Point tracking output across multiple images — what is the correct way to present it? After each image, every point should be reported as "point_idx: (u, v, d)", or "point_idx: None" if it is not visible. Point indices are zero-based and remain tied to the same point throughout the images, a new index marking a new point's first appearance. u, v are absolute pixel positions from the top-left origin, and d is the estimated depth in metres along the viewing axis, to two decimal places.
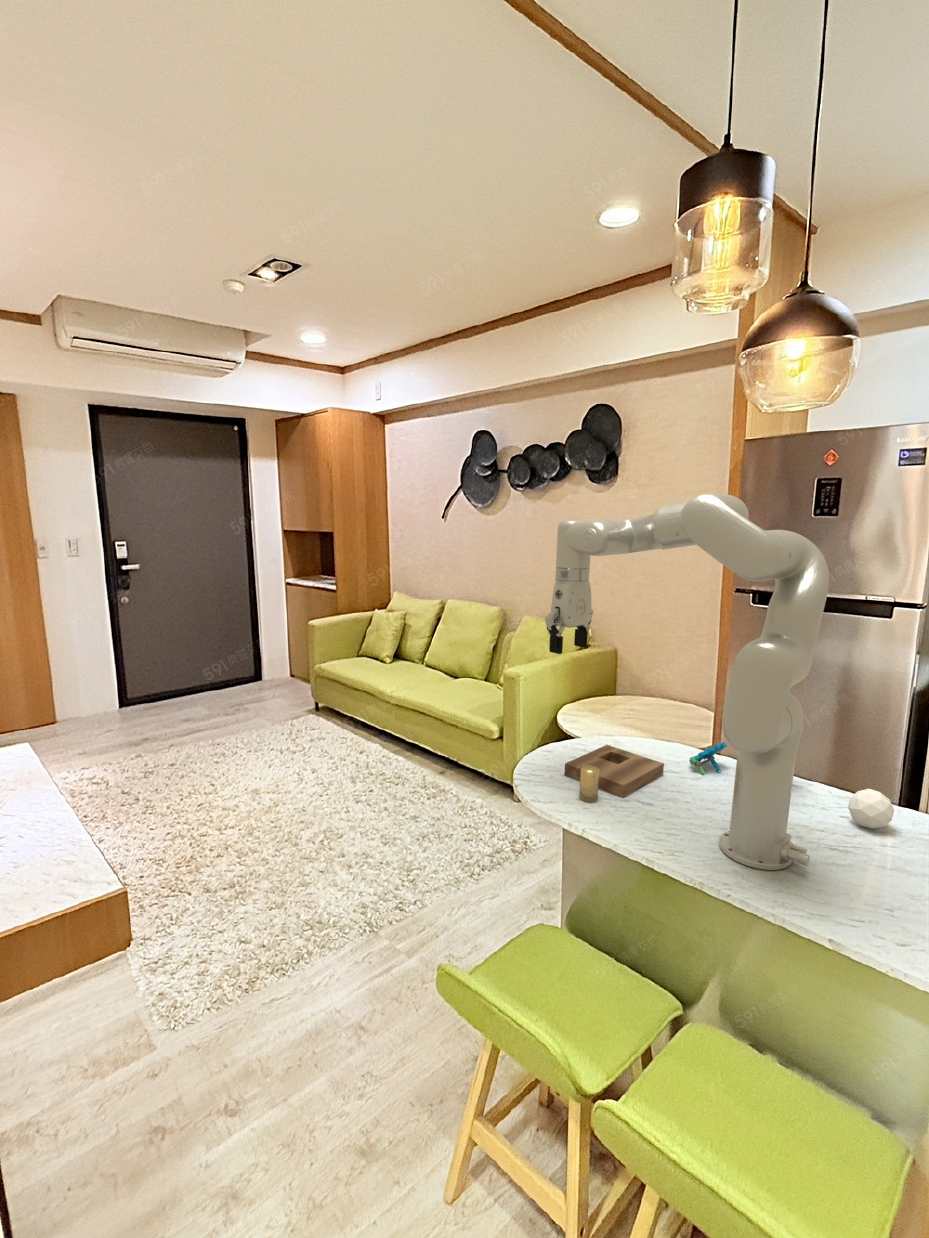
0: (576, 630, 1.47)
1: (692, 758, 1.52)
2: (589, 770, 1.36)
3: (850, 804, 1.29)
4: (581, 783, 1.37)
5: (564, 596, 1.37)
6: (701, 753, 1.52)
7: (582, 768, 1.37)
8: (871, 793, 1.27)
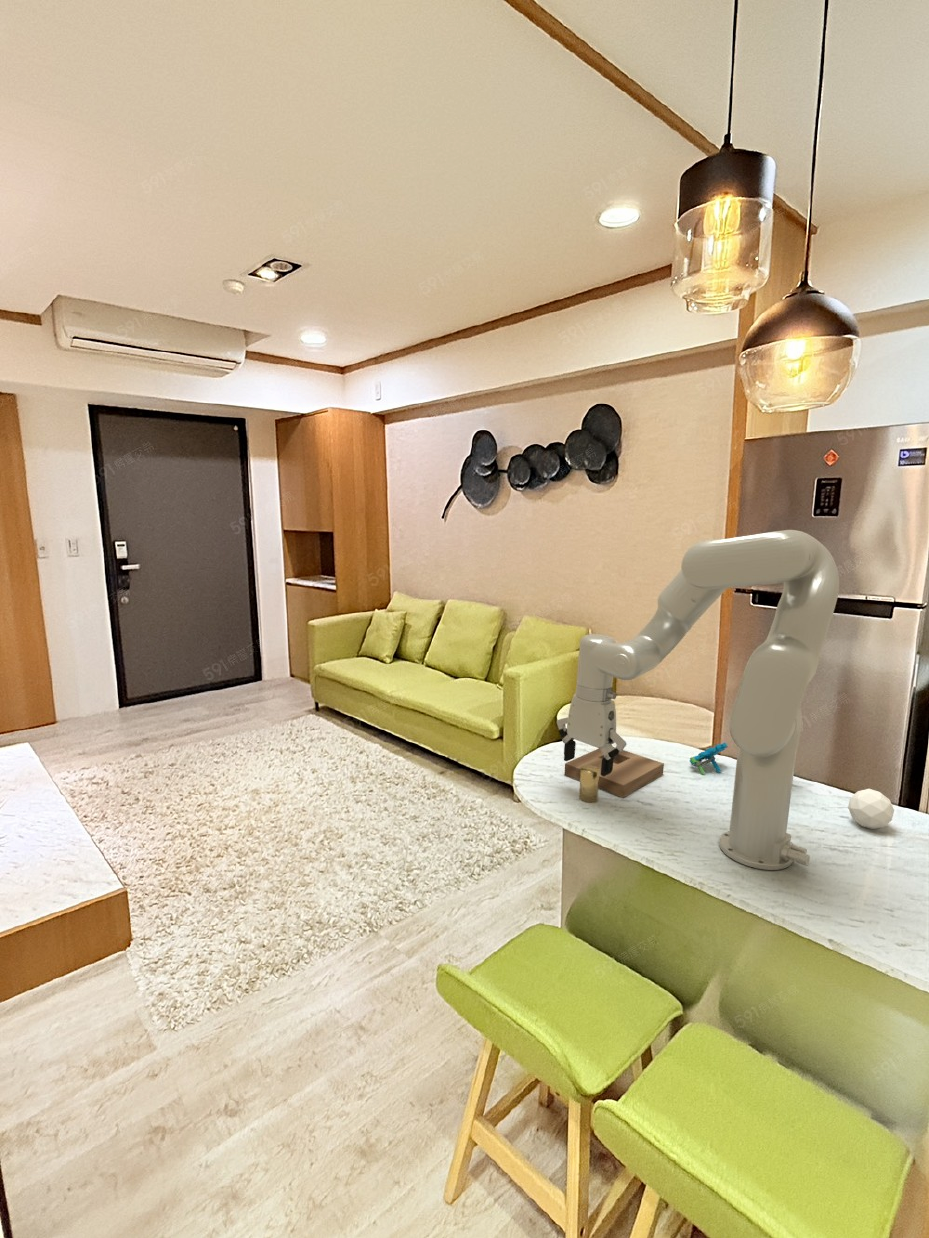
0: (568, 745, 1.39)
1: (692, 758, 1.52)
2: (589, 770, 1.36)
3: (850, 804, 1.29)
4: (581, 783, 1.37)
5: (615, 715, 1.32)
6: (701, 753, 1.52)
7: (582, 768, 1.37)
8: (871, 793, 1.27)
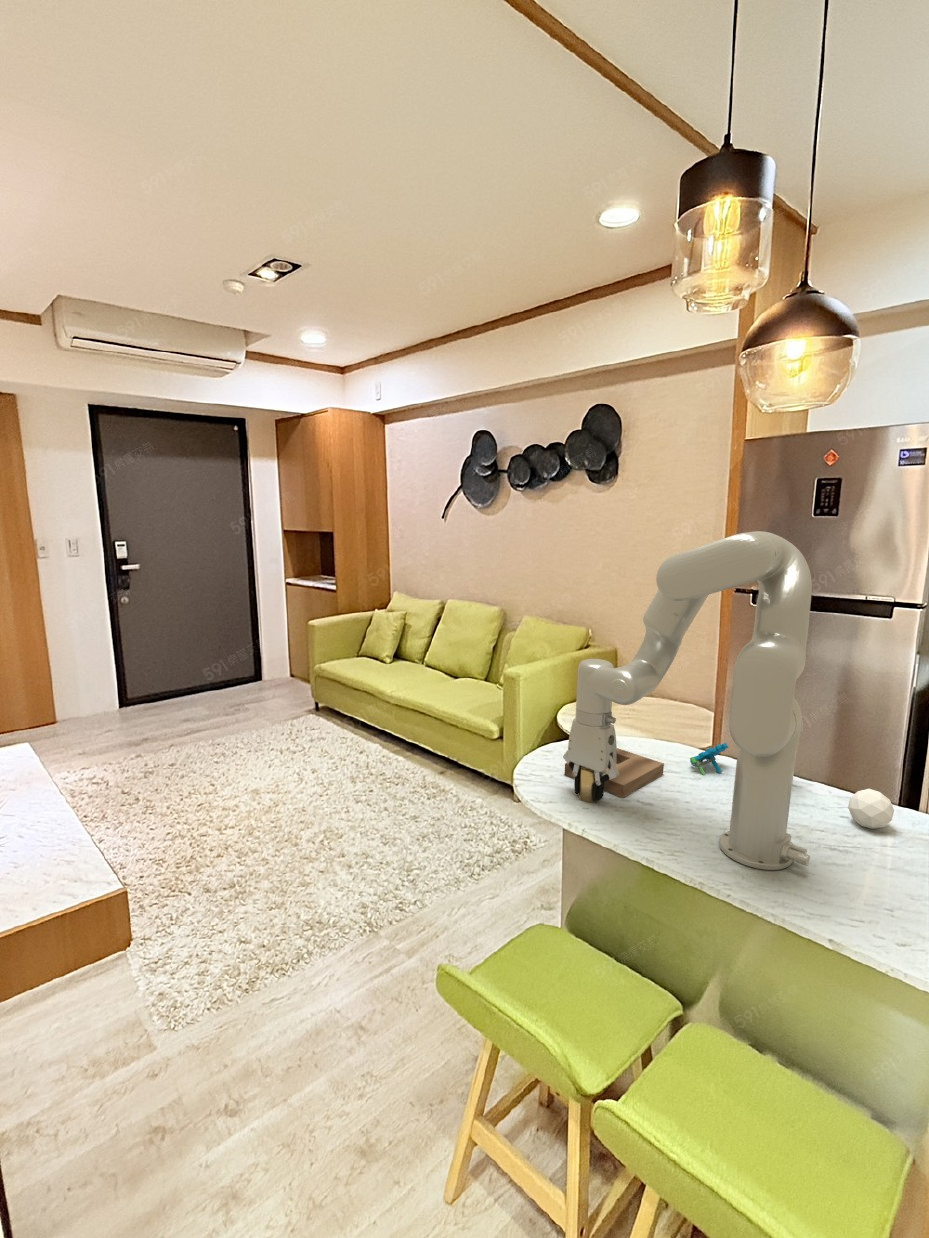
0: (579, 778, 1.38)
1: (692, 758, 1.52)
2: (589, 770, 1.36)
3: (850, 804, 1.29)
4: (581, 783, 1.37)
5: (615, 739, 1.33)
6: (701, 753, 1.51)
7: (582, 768, 1.37)
8: (871, 793, 1.27)
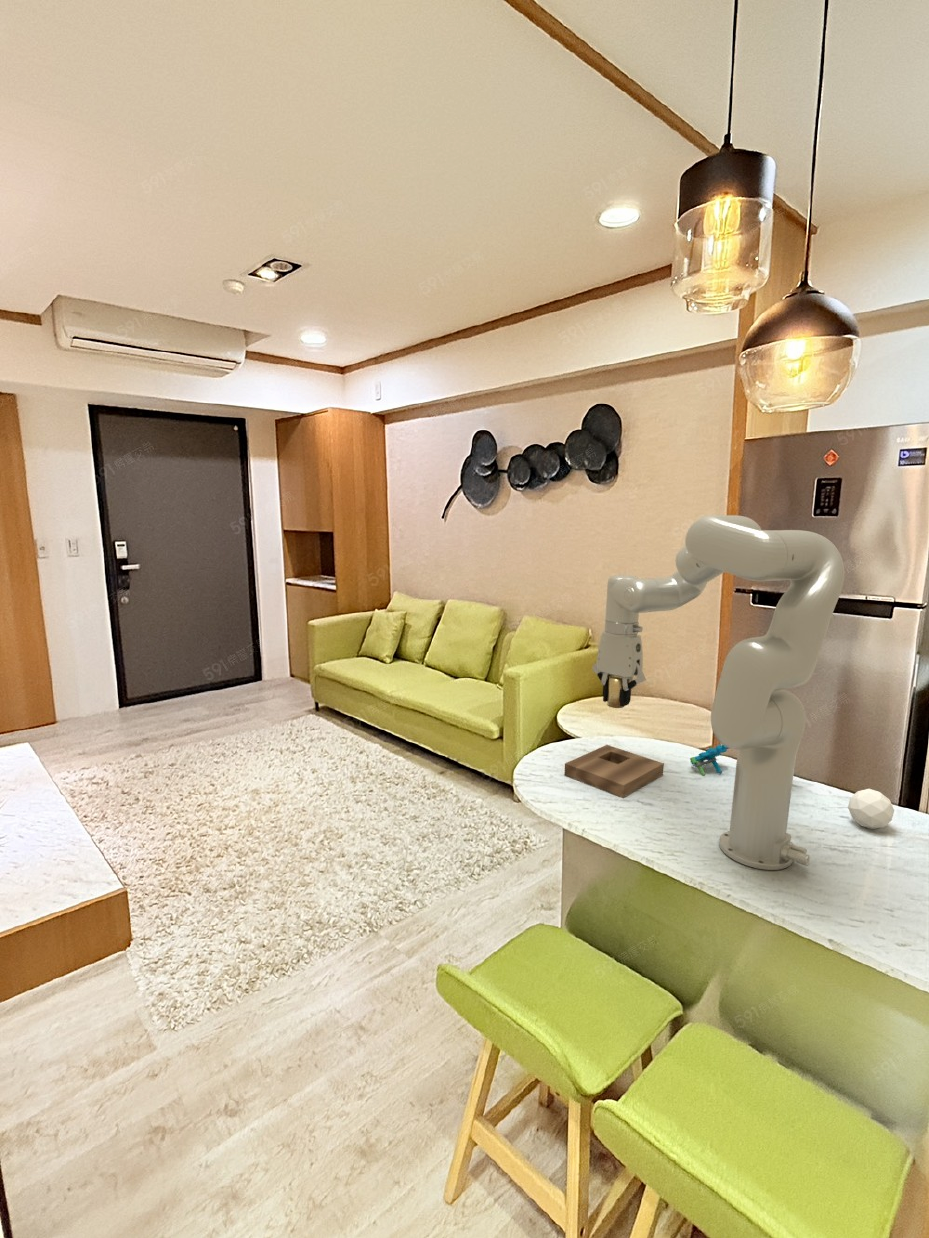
0: (607, 686, 1.50)
1: (692, 758, 1.52)
2: (616, 678, 1.48)
3: (850, 804, 1.29)
4: (609, 690, 1.49)
5: (641, 647, 1.45)
6: (701, 754, 1.51)
7: (610, 677, 1.49)
8: (871, 793, 1.27)
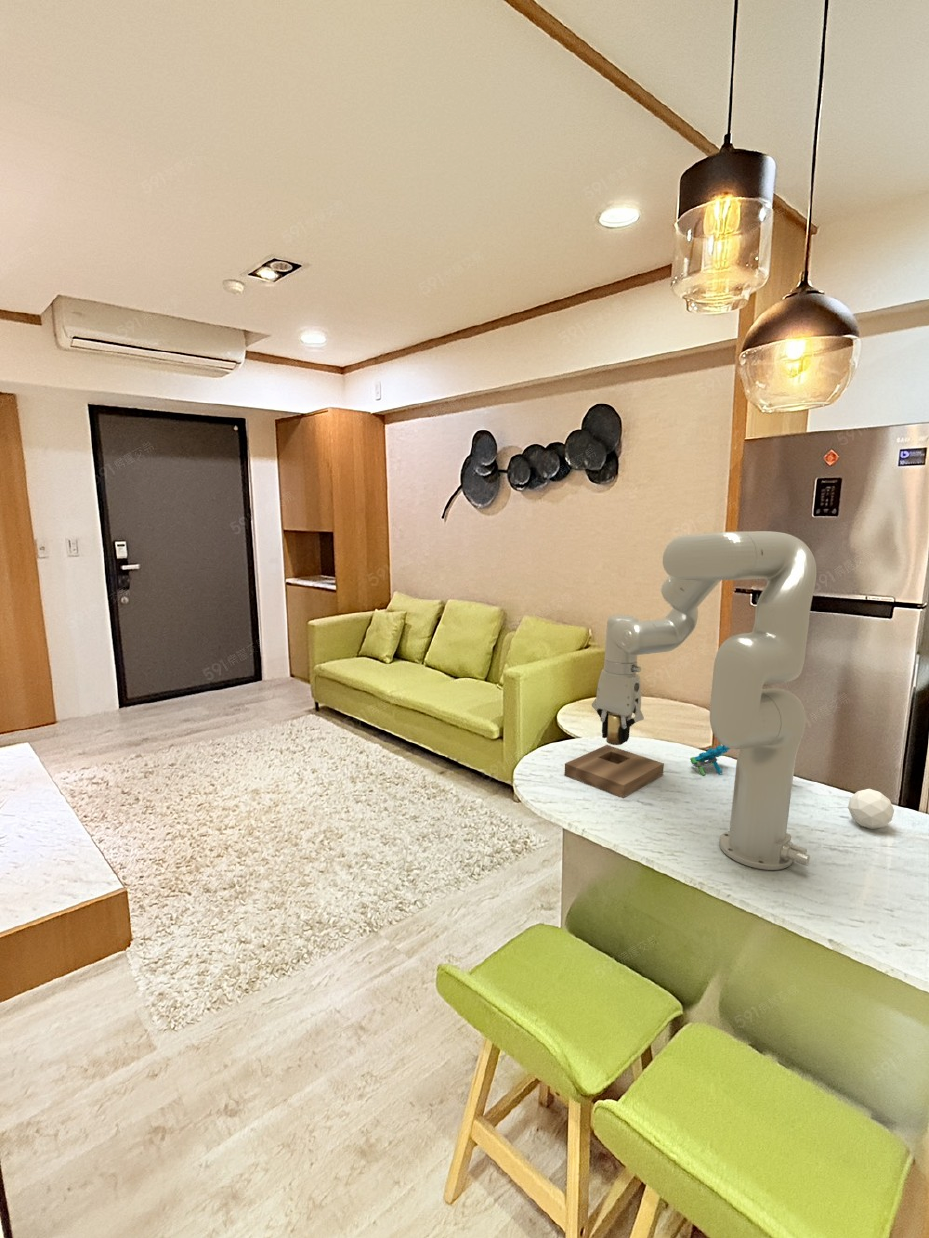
0: (606, 723, 1.53)
1: (692, 758, 1.52)
2: (615, 715, 1.51)
3: (850, 804, 1.29)
4: (608, 727, 1.52)
5: (640, 687, 1.48)
6: (701, 754, 1.51)
7: (609, 714, 1.52)
8: (871, 793, 1.27)
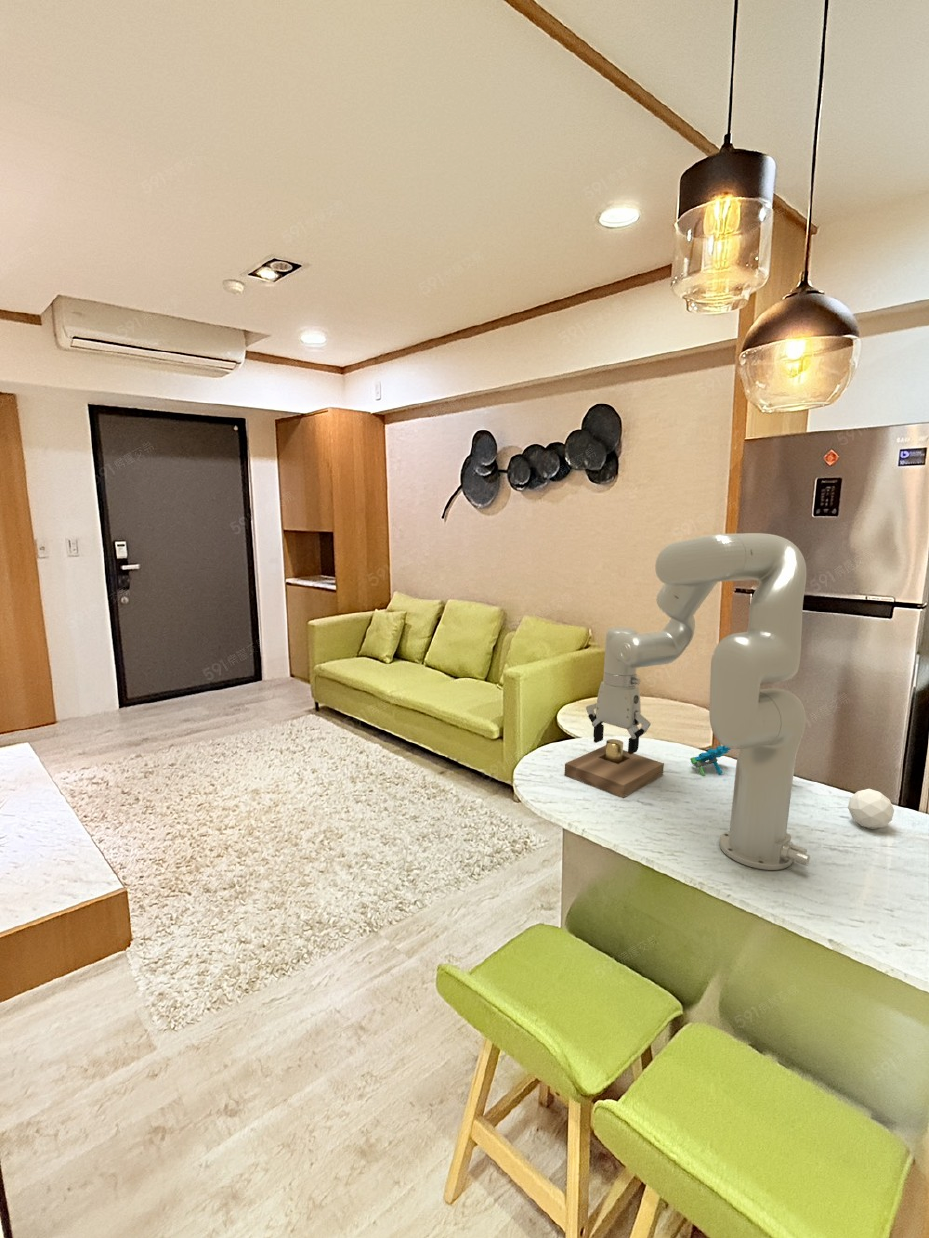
0: (597, 728, 1.55)
1: (692, 759, 1.52)
2: (614, 743, 1.52)
3: (850, 804, 1.29)
4: (607, 755, 1.53)
5: (639, 699, 1.48)
6: (701, 754, 1.51)
7: (607, 741, 1.53)
8: (871, 793, 1.27)
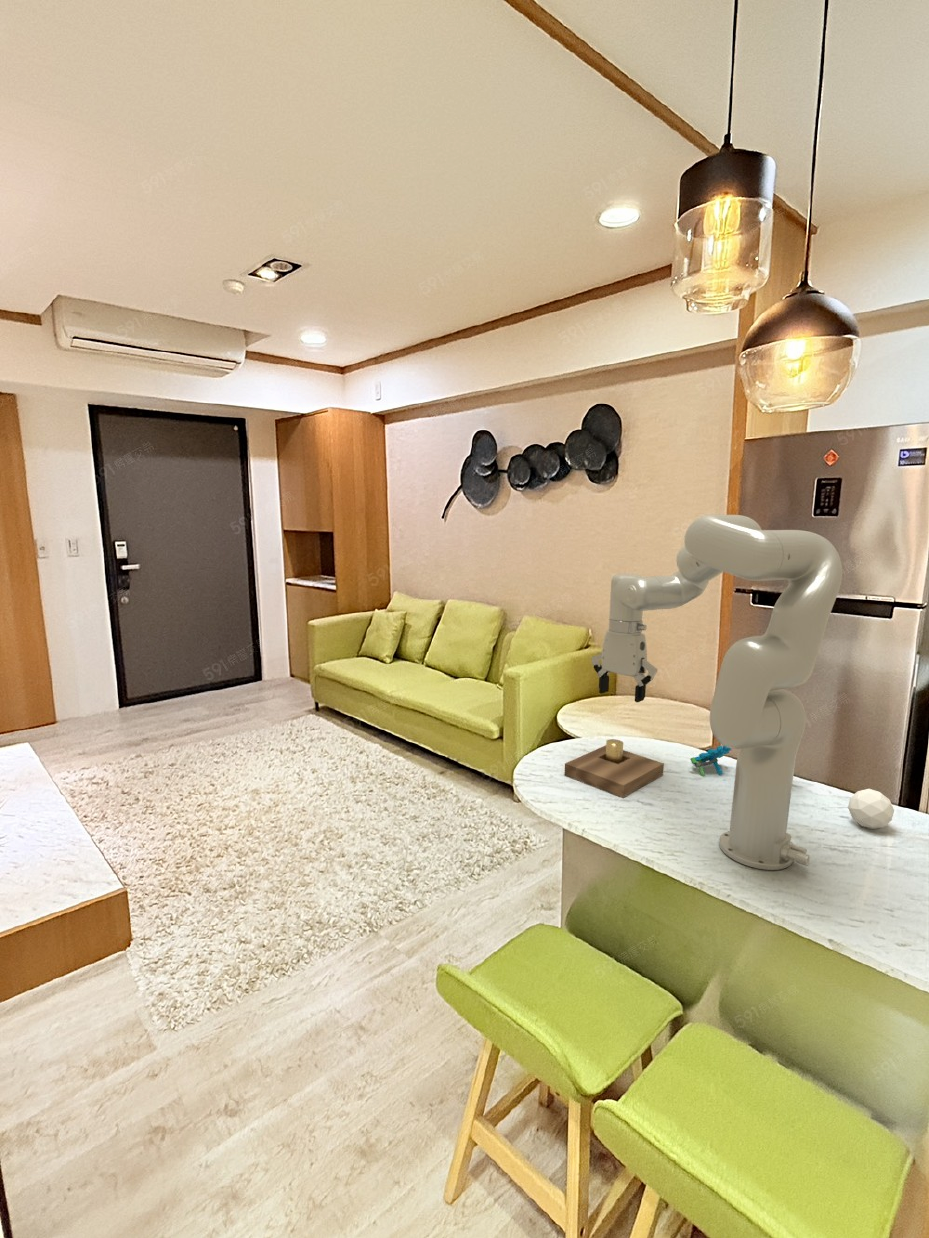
0: (603, 678, 1.52)
1: (692, 759, 1.52)
2: (614, 743, 1.52)
3: (850, 804, 1.29)
4: (607, 755, 1.53)
5: (645, 646, 1.46)
6: (701, 754, 1.51)
7: (608, 741, 1.53)
8: (871, 793, 1.27)
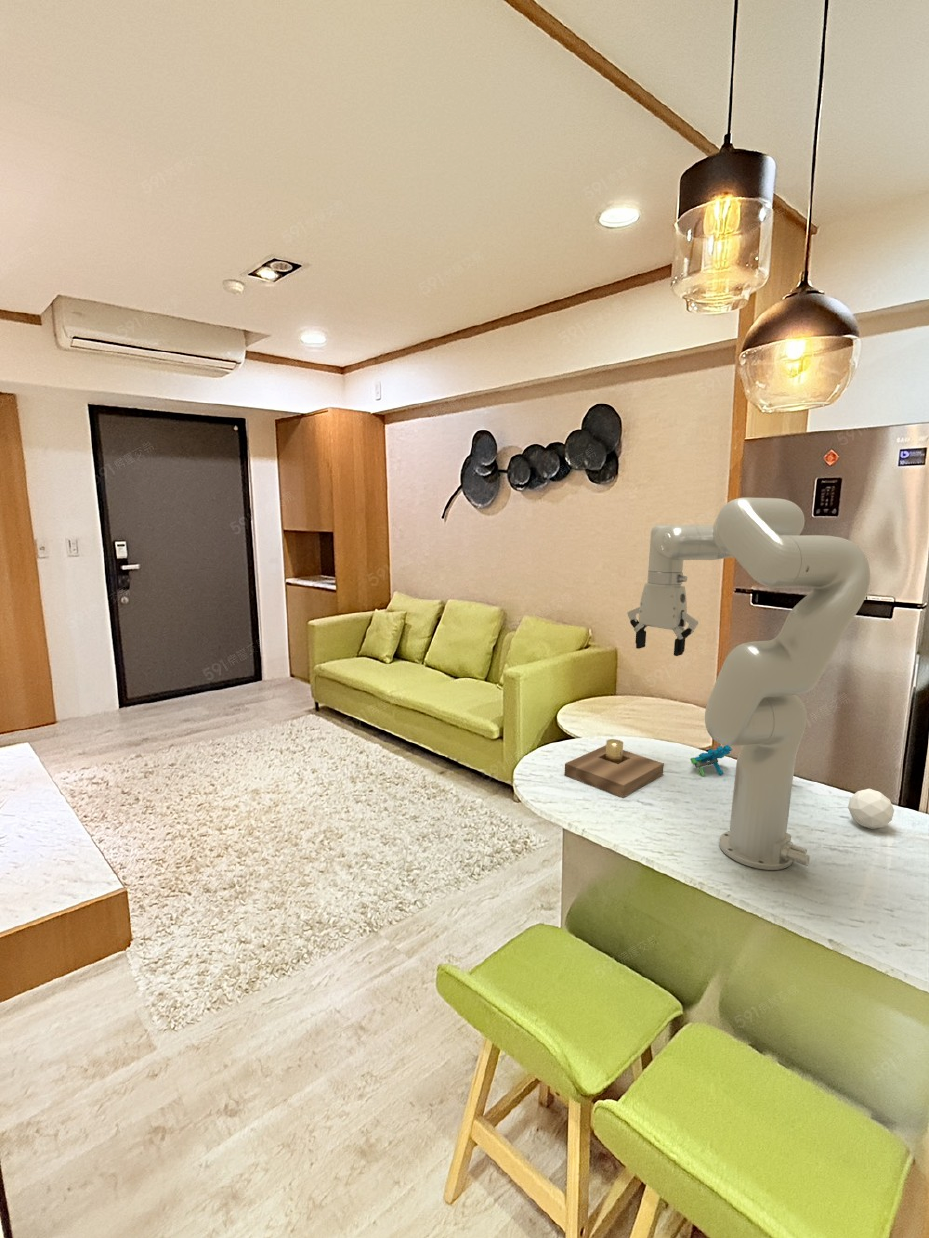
0: (640, 633, 1.49)
1: (692, 759, 1.52)
2: (614, 743, 1.52)
3: (850, 804, 1.29)
4: (607, 755, 1.53)
5: (685, 598, 1.43)
6: (701, 754, 1.51)
7: (607, 741, 1.53)
8: (871, 793, 1.27)
